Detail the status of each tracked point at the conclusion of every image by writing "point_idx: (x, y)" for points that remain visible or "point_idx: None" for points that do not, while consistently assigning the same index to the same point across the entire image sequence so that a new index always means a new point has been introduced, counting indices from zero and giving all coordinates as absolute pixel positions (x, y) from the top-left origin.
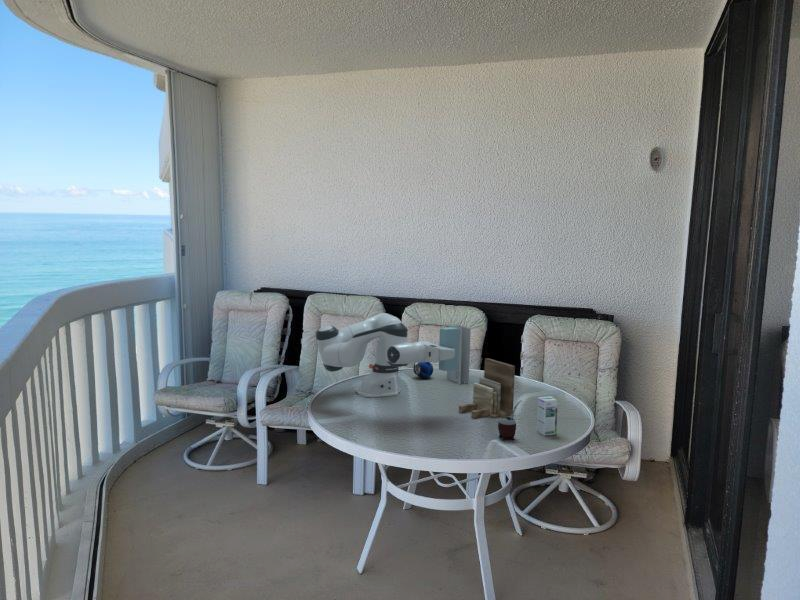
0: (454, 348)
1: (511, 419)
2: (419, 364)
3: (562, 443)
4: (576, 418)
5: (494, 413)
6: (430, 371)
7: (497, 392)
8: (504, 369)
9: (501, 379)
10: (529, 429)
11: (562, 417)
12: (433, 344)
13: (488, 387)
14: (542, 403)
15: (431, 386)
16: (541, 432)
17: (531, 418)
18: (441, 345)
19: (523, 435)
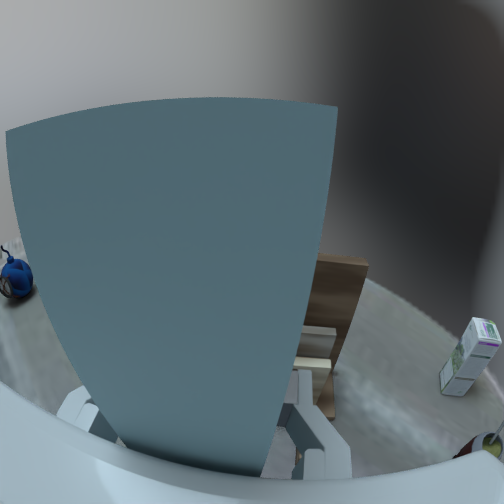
0: (310, 373)
1: (494, 438)
2: (4, 275)
3: (492, 390)
4: (389, 303)
5: (317, 402)
6: (28, 280)
7: (325, 355)
8: (332, 278)
9: (312, 307)
10: (427, 399)
11: (379, 313)
12: (43, 464)
13: (309, 361)
14: (489, 348)
15: (47, 326)
16: (457, 393)
17: (367, 355)
18: (165, 447)
19: (454, 429)
